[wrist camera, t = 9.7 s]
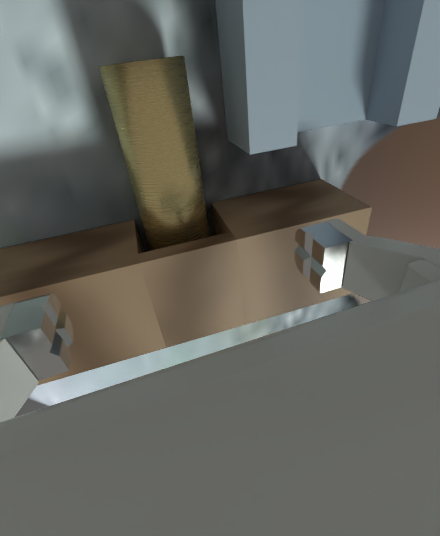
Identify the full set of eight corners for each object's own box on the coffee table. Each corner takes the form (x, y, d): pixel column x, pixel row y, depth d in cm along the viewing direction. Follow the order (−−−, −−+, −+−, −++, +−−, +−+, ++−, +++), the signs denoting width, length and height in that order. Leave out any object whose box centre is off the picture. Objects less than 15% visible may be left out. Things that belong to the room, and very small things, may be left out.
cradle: (430, -115, 13) (516, -164, 10) (386, 110, 19) (436, 118, 16) (205, -105, 12) (235, -162, 9) (227, 139, 17) (249, 154, 14)
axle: (178, 56, 14) (191, 54, 11) (212, 283, 22) (224, 315, 20) (101, 66, 14) (94, 66, 11) (164, 295, 22) (170, 329, 19)
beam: (320, 178, 20) (371, 207, 16) (314, 254, 23) (354, 292, 19) (-3, 249, 17) (-41, 306, 13) (45, 324, 20) (27, 388, 16)
